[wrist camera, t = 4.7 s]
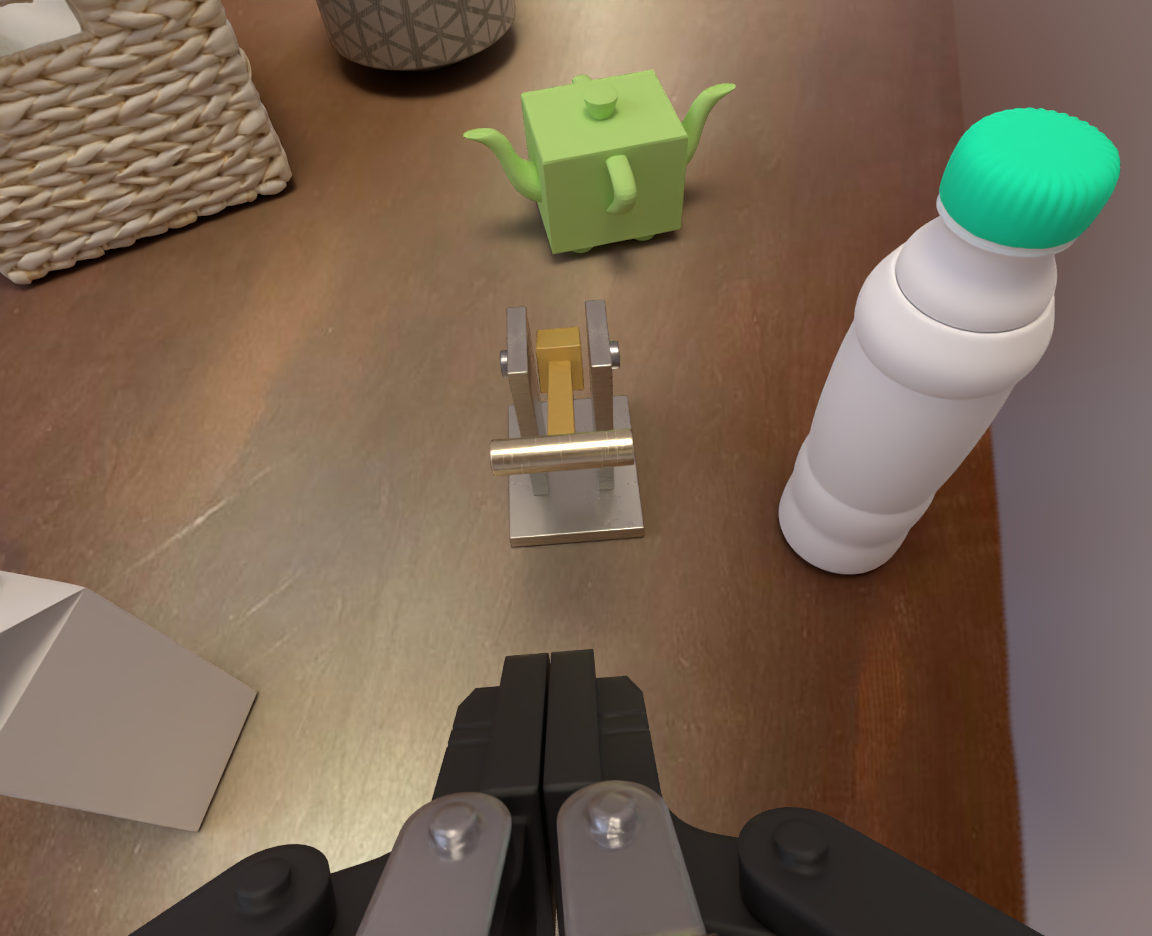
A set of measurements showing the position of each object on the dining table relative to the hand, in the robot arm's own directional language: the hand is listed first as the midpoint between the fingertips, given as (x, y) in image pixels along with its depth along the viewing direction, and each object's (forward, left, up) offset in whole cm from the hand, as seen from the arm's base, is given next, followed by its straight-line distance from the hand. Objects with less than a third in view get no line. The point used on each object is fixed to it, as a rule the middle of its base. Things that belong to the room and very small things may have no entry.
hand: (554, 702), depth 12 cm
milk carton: (+15, -17, -27) cm, 35 cm away
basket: (-1, -70, -27) cm, 75 cm away
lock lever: (-9, -14, -14) cm, 22 cm away
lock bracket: (-12, -17, -26) cm, 34 cm away
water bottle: (-22, -4, -27) cm, 35 cm away
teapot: (-29, -35, -27) cm, 53 cm away
